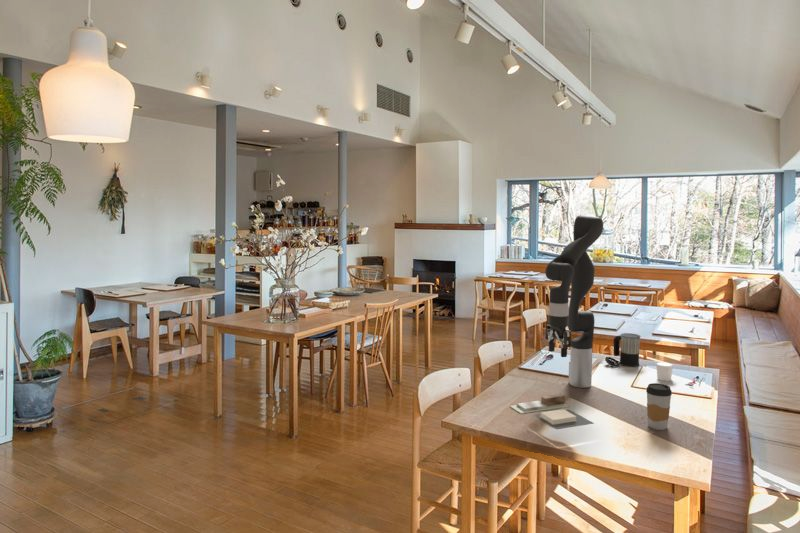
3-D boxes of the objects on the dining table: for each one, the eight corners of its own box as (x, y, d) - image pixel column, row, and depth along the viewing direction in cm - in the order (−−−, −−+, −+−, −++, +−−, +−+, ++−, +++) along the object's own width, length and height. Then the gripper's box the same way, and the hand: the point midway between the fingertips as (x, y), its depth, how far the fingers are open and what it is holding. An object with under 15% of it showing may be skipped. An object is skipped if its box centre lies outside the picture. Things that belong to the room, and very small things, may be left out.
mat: (533, 416, 218) (533, 414, 218) (569, 410, 223) (569, 409, 223) (556, 430, 204) (556, 429, 204) (594, 424, 209) (594, 423, 209)
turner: (558, 400, 233) (558, 392, 232) (567, 405, 227) (567, 397, 227) (516, 406, 226) (517, 398, 226) (525, 411, 221) (525, 403, 220)
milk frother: (642, 363, 287) (643, 334, 286) (630, 370, 276) (631, 340, 274) (614, 359, 297) (614, 330, 295) (601, 365, 285) (602, 336, 283)
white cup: (675, 381, 259) (675, 366, 259) (659, 381, 259) (660, 366, 259) (668, 376, 266) (668, 361, 265) (653, 376, 266) (654, 361, 266)
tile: (563, 414, 218) (540, 417, 215) (563, 409, 218) (540, 412, 215) (576, 421, 211) (552, 425, 208) (576, 416, 211) (552, 419, 207)
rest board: (510, 408, 227) (510, 405, 227) (557, 401, 234) (557, 399, 234) (520, 415, 219) (520, 412, 219) (569, 408, 226) (569, 405, 226)
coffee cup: (673, 426, 207) (675, 386, 205) (665, 433, 201) (667, 391, 199) (649, 420, 213) (651, 381, 211) (641, 427, 207) (642, 386, 205)
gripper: (577, 316, 219) (576, 358, 221) (556, 309, 232) (555, 348, 234) (560, 318, 216) (559, 359, 219) (540, 310, 230) (539, 350, 232)
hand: (557, 354), depth 226 cm, fingers open, 8 cm apart
